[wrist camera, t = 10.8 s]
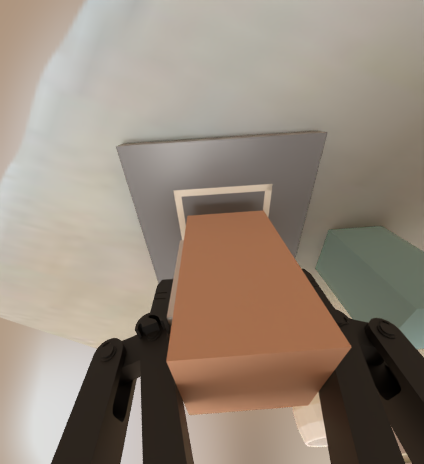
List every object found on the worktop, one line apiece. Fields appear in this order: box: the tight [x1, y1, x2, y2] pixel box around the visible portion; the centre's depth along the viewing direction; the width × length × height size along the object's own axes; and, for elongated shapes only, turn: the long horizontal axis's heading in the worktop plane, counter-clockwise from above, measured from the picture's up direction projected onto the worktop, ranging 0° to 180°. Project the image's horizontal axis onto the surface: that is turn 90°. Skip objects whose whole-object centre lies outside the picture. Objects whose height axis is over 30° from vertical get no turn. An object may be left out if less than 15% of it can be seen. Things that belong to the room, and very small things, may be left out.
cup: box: [293, 392, 328, 447], centre depth 42 cm, size 12×12×10 cm
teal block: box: [315, 226, 424, 349], centre depth 18 cm, size 6×6×10 cm
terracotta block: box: [166, 210, 351, 415], centre depth 12 cm, size 6×6×10 cm
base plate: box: [116, 131, 327, 283], centre depth 19 cm, size 16×16×2 cm
